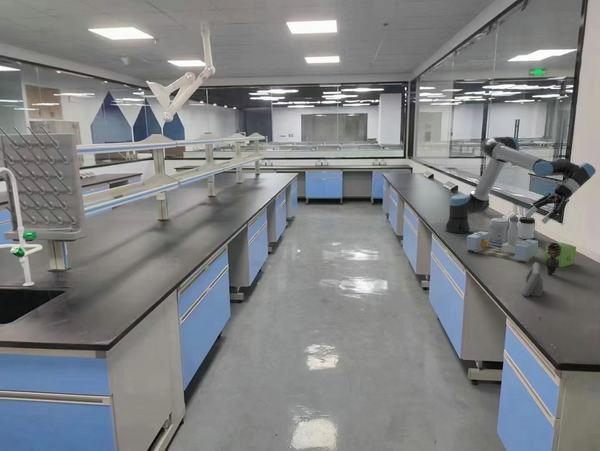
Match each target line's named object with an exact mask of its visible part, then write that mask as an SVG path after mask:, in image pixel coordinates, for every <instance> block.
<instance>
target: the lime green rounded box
mask: <svg viewBox="0 0 600 451" xmlns="http://www.w3.org/2000/svg"><path fill="white" fill-rule="evenodd" d="M556 243H557V244H559V245H560V246H561V247H562V249H561V252H560V255H559V256H558V257H556V259H558V260H559V266H558V267H557V268H563V267H569V266H570V265H573V264H574V263H575V258H576V257H577V255H578V252H577V246H574V245H572V244H569V243H565V242H561V241H558V242H556ZM548 245H550V243H549V244H547V245H546V246H545V250H544V251H545V253H544V259H543V263H544V264H546V259H547V258H550V255H549V254H548V253H547V252H548V250H547V249H548V247H547V246H548Z"/></svg>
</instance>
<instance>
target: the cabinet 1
mask: <svg viewBox="0 0 600 451" xmlns="http://www.w3.org/2000/svg"><path fill="white" fill-rule="evenodd" d="M482 239H484V240H489V232H488V231H476V232H473V233H472V234H469V235H467V236H466V244H465V249H467V250H468V249H470V250H477V249H479V248H480V247H484V246H481V240H482Z"/></svg>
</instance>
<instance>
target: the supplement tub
mask: <svg viewBox="0 0 600 451" xmlns="http://www.w3.org/2000/svg"><path fill="white" fill-rule="evenodd" d="M489 223H490V224H489V232H488V233H489V245H491V246H493V247H502V244H504V243H508V234H509V225H510V219H509V220H508V219H507V218H501V217H493V218H491V219H490V222H489Z"/></svg>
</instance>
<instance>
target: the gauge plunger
mask: <svg viewBox="0 0 600 451" xmlns="http://www.w3.org/2000/svg"><path fill="white" fill-rule="evenodd" d="M481 246H485V247H487V246H490V244H489V240H484V239H482V240H481Z"/></svg>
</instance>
